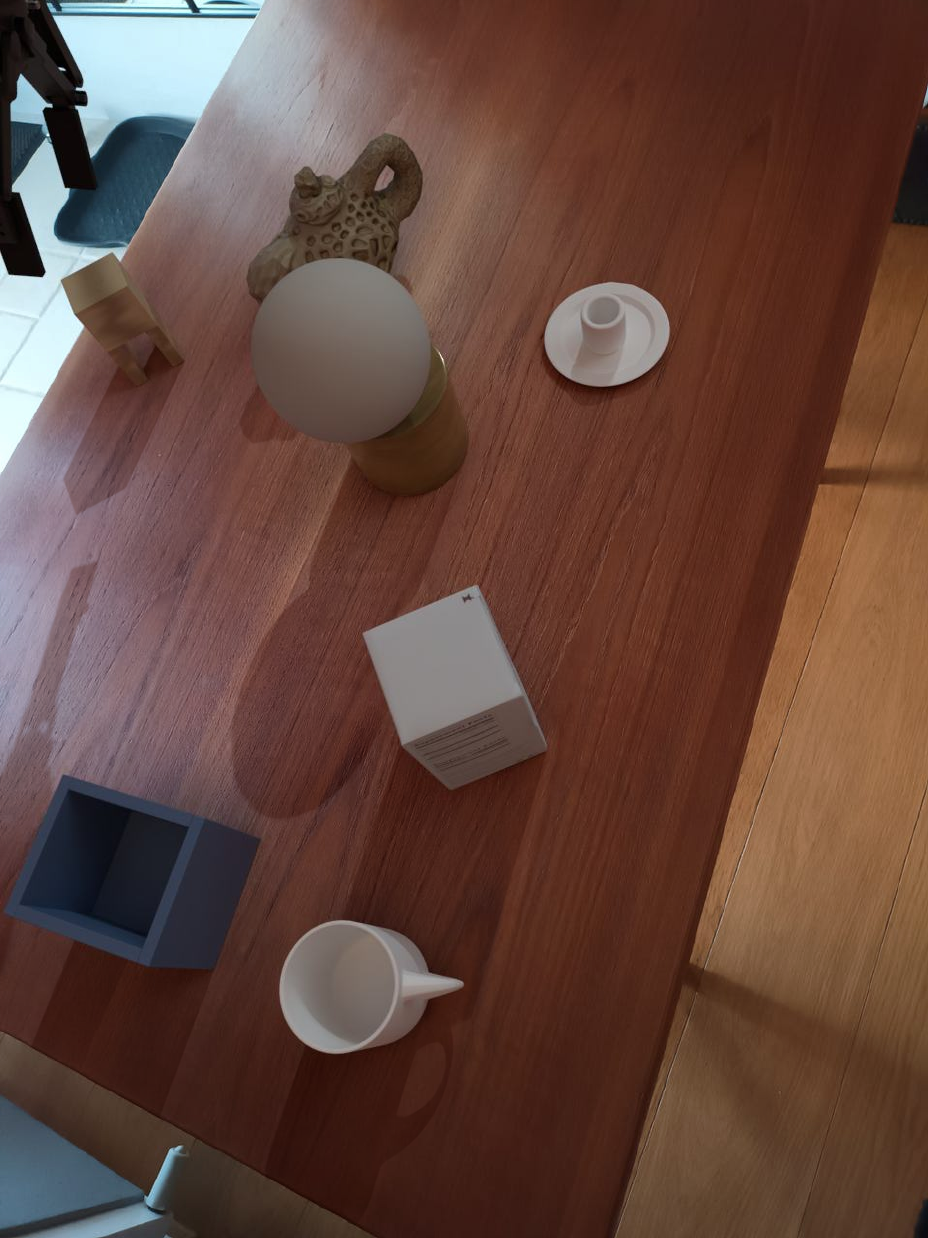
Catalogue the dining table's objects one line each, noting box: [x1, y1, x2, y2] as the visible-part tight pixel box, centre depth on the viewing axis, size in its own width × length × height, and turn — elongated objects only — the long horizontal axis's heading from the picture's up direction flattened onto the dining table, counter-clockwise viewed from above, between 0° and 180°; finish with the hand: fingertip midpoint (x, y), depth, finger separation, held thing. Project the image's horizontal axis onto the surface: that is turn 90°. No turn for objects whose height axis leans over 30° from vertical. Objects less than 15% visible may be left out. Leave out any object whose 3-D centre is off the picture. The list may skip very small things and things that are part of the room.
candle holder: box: [543, 281, 671, 388], centre depth 91 cm, size 12×12×4 cm
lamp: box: [250, 258, 470, 497], centre depth 81 cm, size 15×14×25 cm
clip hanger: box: [60, 251, 185, 387], centre depth 98 cm, size 6×5×12 cm
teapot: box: [246, 132, 424, 307], centre depth 95 cm, size 21×12×15 cm, turn 129°
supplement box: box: [361, 584, 548, 791], centre depth 74 cm, size 10×9×17 cm
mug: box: [279, 919, 465, 1055], centre depth 70 cm, size 9×12×11 cm
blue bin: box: [3, 773, 261, 970], centre depth 77 cm, size 13×11×11 cm
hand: (56, 228), depth 79 cm, fingers open, 13 cm apart
